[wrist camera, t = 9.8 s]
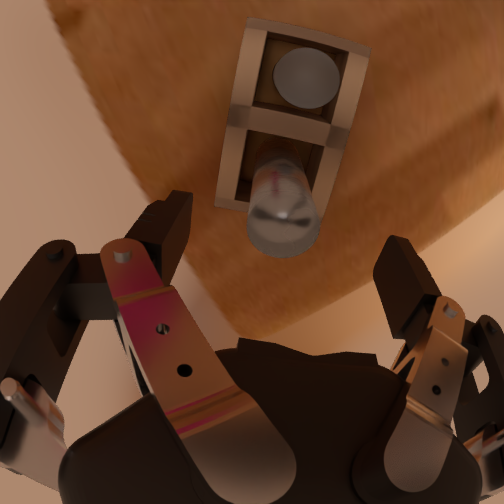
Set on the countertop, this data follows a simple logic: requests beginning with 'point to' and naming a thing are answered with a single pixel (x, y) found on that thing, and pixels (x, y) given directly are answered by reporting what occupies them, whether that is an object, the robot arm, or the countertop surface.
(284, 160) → the pin
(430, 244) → the countertop surface
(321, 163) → the wooden divided tray
